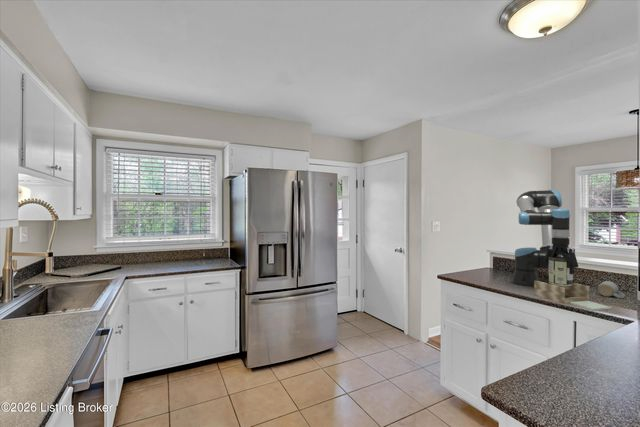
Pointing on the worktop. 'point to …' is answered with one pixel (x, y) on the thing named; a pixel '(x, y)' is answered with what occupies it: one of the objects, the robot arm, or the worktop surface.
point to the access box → (562, 292)
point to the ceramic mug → (609, 289)
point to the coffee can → (558, 271)
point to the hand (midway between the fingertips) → (560, 277)
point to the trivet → (590, 305)
